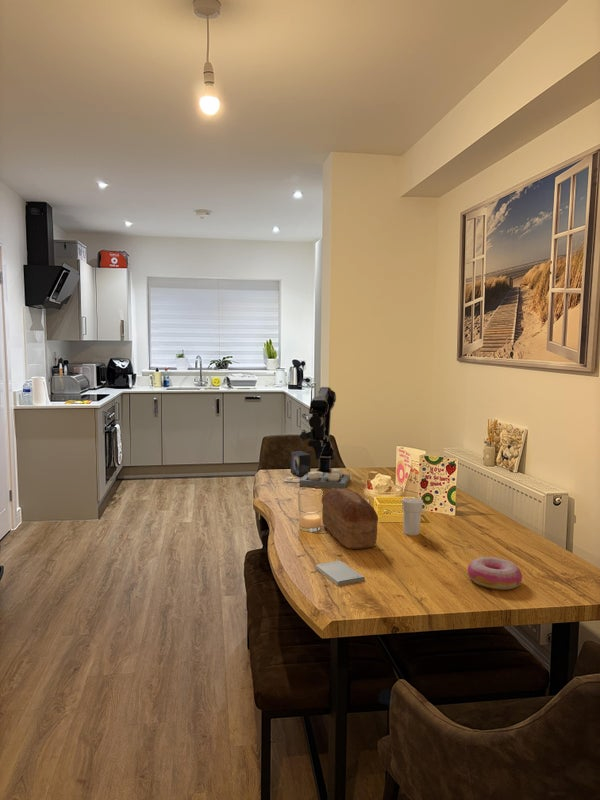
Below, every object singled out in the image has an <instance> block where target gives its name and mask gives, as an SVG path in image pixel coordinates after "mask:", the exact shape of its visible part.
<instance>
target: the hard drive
mask: <svg viewBox="0 0 600 800" xmlns="http://www.w3.org/2000/svg"><path fill="white" fill-rule="evenodd" d="M314 568H315V569H316V570H317V571H318V572H320V574H322V575H323V576H324V577H326V578H327V579H329V580H330V581H331V582H332V583H333V584H335V585H336V586H344V585H347V584H353V583H358V582H363V581H365V576H364V575H362V574H360V573H359V572H357V571H356V570H355V569H353V568H352V567H351V566H349V565H347V564H346V563H344V562H343V561H341V560H335V561H329V562H324V563H319V564H318V563H316V565H314Z"/></svg>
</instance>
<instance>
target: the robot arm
mask: <svg viewBox="0 0 600 800" xmlns="http://www.w3.org/2000/svg"><path fill="white" fill-rule="evenodd" d="M336 402H337V395H336V392H335V391H334V390H332V388H331V387H330V386H321V387H320V388H319V391H318V394H317V396H316V397H313V398H312V400H311V401H310V404H309V410H308V413H309V415H311V416H310V417H309V420H308V425H309V426H310V427H311V428H310V430H309V431H305V430H304V431H302V432H301V433H300V434H299V438H300V440H301V442H304V441H306V440H309V441H307V447H310V448H311V447H312V449H314V453H315V454H314V455H315V459H316V460H318V468H317V470H316V472H323V473H331V471H332V468H331V460H335V450H334V448H333V443H332V442H331V440H330V433H331V432H330V431H331V417H332V415H331V414H332V410H333V409H334V407H335V403H336Z"/></svg>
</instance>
